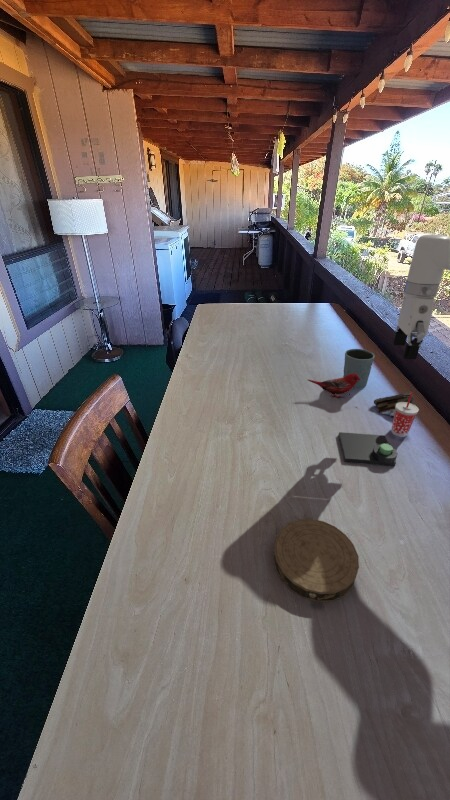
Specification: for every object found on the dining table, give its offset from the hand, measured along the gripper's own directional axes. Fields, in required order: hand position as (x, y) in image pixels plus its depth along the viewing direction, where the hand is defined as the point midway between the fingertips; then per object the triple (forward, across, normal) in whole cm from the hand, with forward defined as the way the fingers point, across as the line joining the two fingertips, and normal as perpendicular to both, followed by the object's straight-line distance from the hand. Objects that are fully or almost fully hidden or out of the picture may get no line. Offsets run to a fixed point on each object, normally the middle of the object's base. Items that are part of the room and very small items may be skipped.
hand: (403, 351), depth 97 cm
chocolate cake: (+24, +7, -4) cm, 26 cm away
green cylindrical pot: (+24, +27, +5) cm, 36 cm away
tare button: (+22, -18, +5) cm, 28 cm away
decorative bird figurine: (+24, +15, +15) cm, 32 cm away
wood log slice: (+24, -52, +26) cm, 62 cm away
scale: (+24, -14, +9) cm, 30 cm away
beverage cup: (+24, -4, -3) cm, 25 cm away
